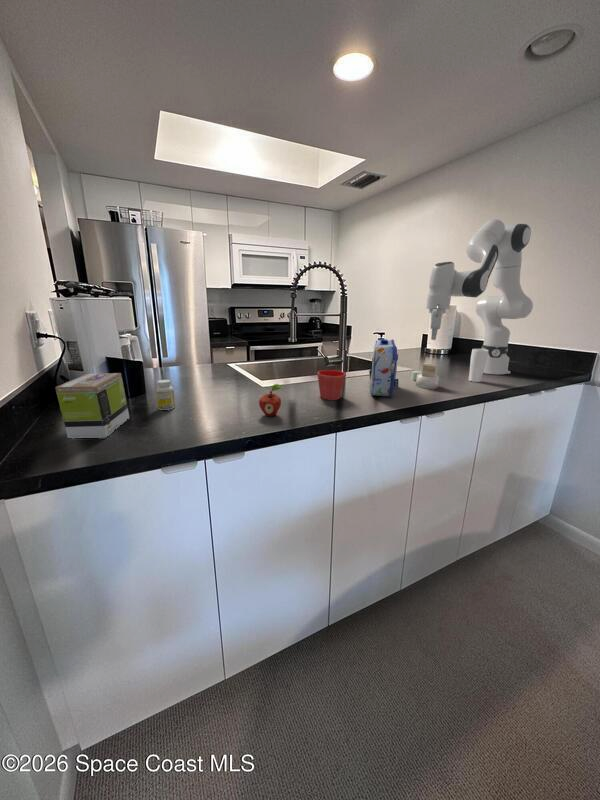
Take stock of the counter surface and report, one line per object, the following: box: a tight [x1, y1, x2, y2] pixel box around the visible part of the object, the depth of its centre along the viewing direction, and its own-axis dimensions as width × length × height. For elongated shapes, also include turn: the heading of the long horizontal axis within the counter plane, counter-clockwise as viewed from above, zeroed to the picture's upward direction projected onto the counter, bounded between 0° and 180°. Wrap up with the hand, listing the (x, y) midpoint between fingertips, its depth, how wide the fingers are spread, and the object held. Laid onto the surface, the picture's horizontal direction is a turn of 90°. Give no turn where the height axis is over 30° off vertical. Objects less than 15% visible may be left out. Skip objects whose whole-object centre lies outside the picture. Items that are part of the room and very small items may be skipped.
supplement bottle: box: [155, 379, 176, 411], centre depth 106 cm, size 5×5×10 cm
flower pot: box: [317, 369, 347, 401], centre depth 121 cm, size 11×11×10 cm
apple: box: [258, 383, 282, 417], centre depth 101 cm, size 8×7×10 cm
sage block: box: [410, 370, 422, 381], centre depth 151 cm, size 4×4×4 cm
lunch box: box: [369, 338, 399, 398], centre depth 128 cm, size 28×10×22 cm, turn 168°
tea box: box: [54, 372, 130, 439], centre depth 88 cm, size 15×10×15 cm, turn 5°
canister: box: [415, 373, 440, 390], centre depth 140 cm, size 9×9×5 cm
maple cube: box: [421, 362, 437, 377], centre depth 138 cm, size 5×5×5 cm
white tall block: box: [468, 348, 489, 383], centre depth 148 cm, size 7×7×15 cm
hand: (433, 338), depth 134 cm, fingers open, 8 cm apart
